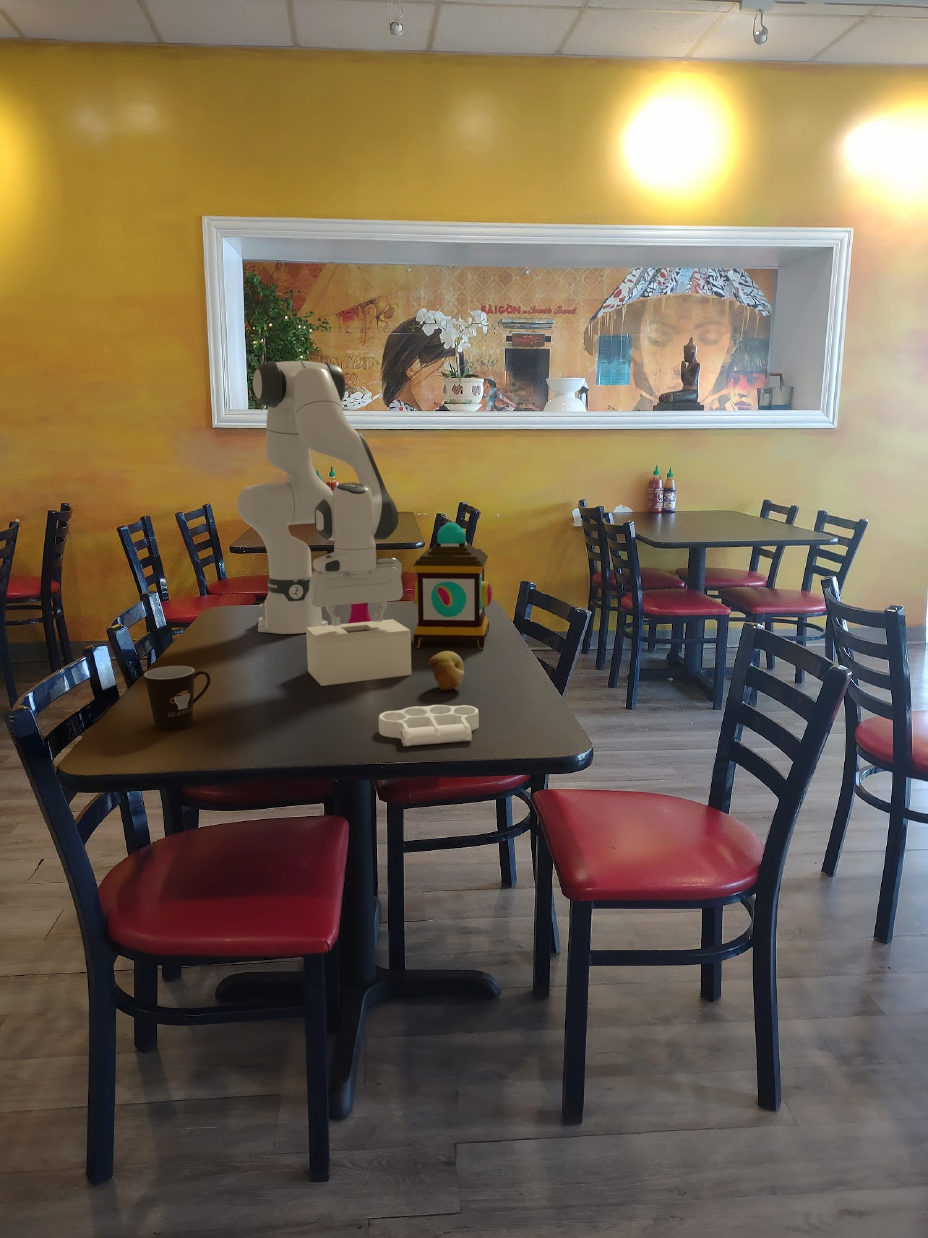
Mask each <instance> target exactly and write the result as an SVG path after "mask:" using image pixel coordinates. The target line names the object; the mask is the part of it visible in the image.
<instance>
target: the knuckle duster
mask: <svg viewBox="0 0 928 1238" xmlns="http://www.w3.org/2000/svg"><path fill="white" fill-rule="evenodd" d="M479 714H480V713H479V709H478V708H477V707H476V706H472V705H469V704H467V705H466V704H462V705H447V704H446V705H445V704H432V705H427V706H426V705H425V706H417V705H416V706H410V707H406V708H403V709H402V708H401V709H400V710H399V709H398V710H386V711H384V712H381V713H380V714H379V715H378V734H380V735H381V736H383V737H386V736H387V737H386V738H397V739H401V740H400V741H401V743H402V746H403V747H407V748H408V747H410V746H422V745H435V744H436V745H438V744H447V743H448V744H449V743H457V742H458V743H459V742H460V743H461V742H470V741H472V739H473V733H472V732H473V731H475V730H476V729H478V728H479V727H480V726H479V723H480V721H479V717H480V715H479Z"/></svg>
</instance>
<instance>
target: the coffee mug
mask: <svg viewBox="0 0 928 1238" xmlns="http://www.w3.org/2000/svg"><path fill="white" fill-rule="evenodd" d="M200 675H203V676H205V678H206V683H205V686H204V687H203V689H202V691H201V692H199V694H197V696H195V697H194V693H195V690H194V689H195V679H196V678H197V677H198V676H200ZM143 677H144V680H145V685H146V689H147V693H148V694H147V695H148V700H149V704H150V708H151V714H152V718H153V722H154V728H155V729H156V730H158V731H162V732H175V731H181V730H184V729H185V730H186V729H188V728H189V727H191V726H192V725H193V716H194V714H193V713H194V704H195V703H197V702H198V701H199V700H200V699H201V697H202V696H203V695H204V694H205V693H206V691H207V690H208V689H209V687H210V684H211V677H210V674H209V673H208V672H207V671H202V670H201V671H197V672H196V671H195V668H193V667H192V666H188V665H187V666H186V665H168V666H161V667H157V668H151V669H150V670H147V671H145V672H144V673H143Z"/></svg>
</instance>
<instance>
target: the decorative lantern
mask: <svg viewBox="0 0 928 1238" xmlns="http://www.w3.org/2000/svg"><path fill="white" fill-rule="evenodd" d="M488 558H489V555H488V554H486V552H484V551H482V549H481V548H475V546H472V545H471V543H470V542H469V543H468V541H467V539H466V533H465V530H464V529H463V528H462V527H461V526H460V525H458V523H456V522H451V521H450V522H447V523H445V524H444V525H443V526H442V527H441V528H440V529H439V530H438V533H437V542H436V543H435V544H434V545H433V547H432V548H427V549H426V550H425V551H424V552H423V553H422V554H421V555H420V557H418V558H417V559H416V560H415V562H414V563H413V565H412V566H413V569H414V572H415V573H416V576H417V580H416V581H415V582H414V584H413V586H412V590H411V593H412V594H411V597H412V602H413V604H414V605H415V606H416V607H417V612H418V613H417V618H418V619H417V620H418V621H417V626H416V627H415V629H414V632H413V636H412V637H413V638H412V639H413V645H414V648H416V649H418V648H420V646H421V640H422V638H423V639H424V638H425V639H426V638H430V639H431V638H432V639H433V638H434V639H435V638H436V639H437V638H438V639H474V640H476V641H477V645H478V649H479V650H482V649H484V648H485V647H484V646H485V640H486V639H485V638H486V637H485V636H486V635H487V634H488V633H489V630H490V621H489V618H488V616H487V614H486V613H485V612H486V611H485V608H487V607H489V606H490V605H491V602H492V596H493V589H492V587H491V584H490V583H489V582H488V581H485V565H486V563H487V561H488Z"/></svg>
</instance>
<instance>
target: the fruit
mask: <svg viewBox="0 0 928 1238" xmlns="http://www.w3.org/2000/svg"><path fill="white" fill-rule="evenodd" d="M427 665H428V668H430V669H431V670H432V672H433V677H434V680H435V681H436V682H437V686H438V687H439V689H440V690H441V691H451V690H454V689H455V688H456V687H458V686H459V685H460V684H461V682H463V681H462V680H463V679H464V677H465V665H464V662H463V659H462V657H461V656H460V655H458V654H457V653H455V651H449V650H445V651H441V652H438V653H436V654H435V655H432V657H431V658H429V659H428V664H427Z"/></svg>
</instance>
